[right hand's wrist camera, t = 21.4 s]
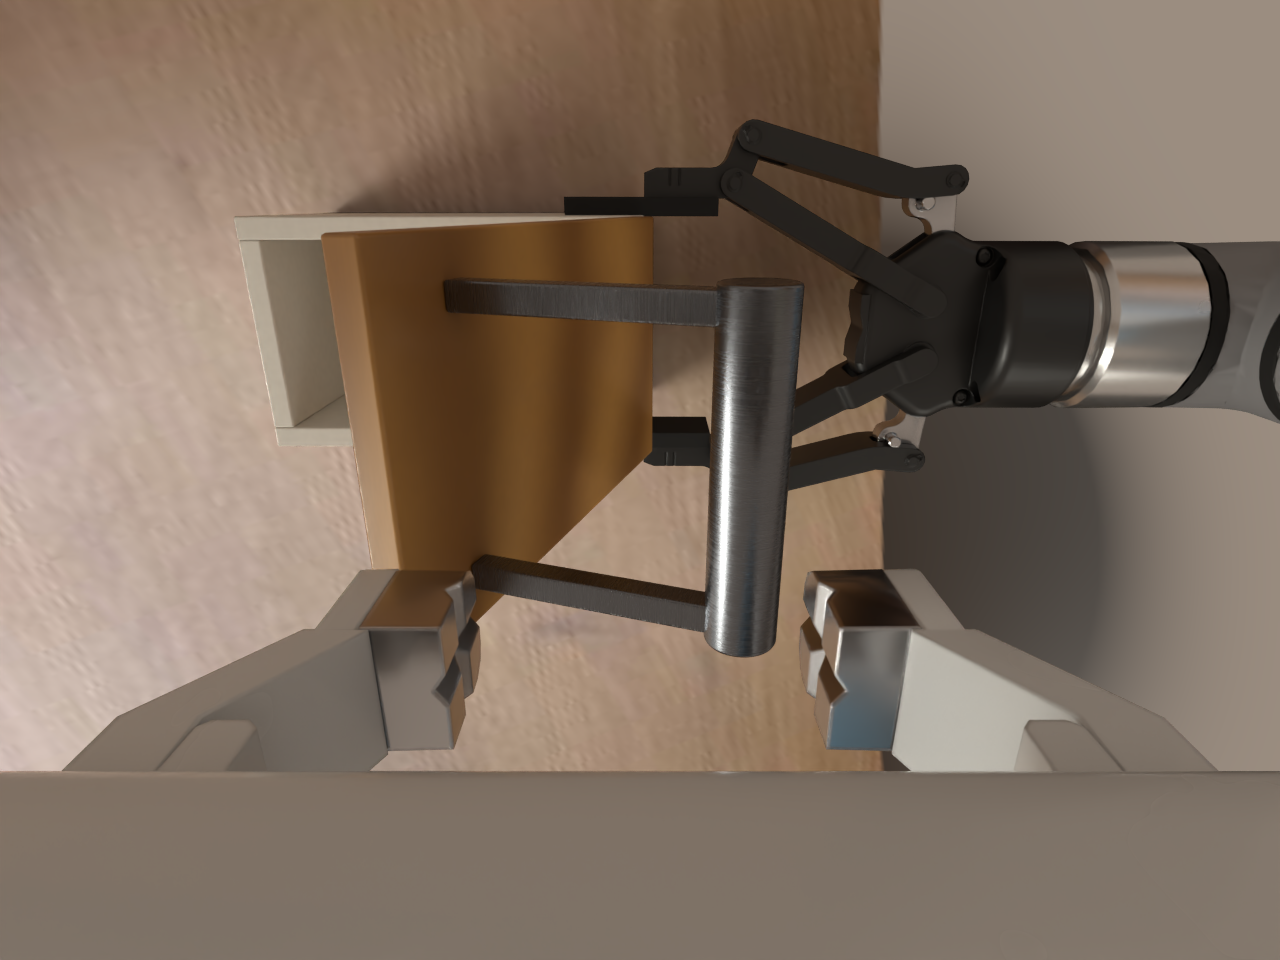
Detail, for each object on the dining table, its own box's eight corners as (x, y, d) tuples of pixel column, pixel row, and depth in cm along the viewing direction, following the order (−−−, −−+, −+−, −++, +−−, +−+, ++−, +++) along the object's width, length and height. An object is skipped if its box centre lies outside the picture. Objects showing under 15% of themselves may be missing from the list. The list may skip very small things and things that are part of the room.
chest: (359, 392, 41) (277, 447, 32) (332, 212, 38) (232, 216, 28) (643, 392, 41) (643, 447, 32) (643, 212, 37) (644, 215, 28)
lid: (386, 673, 17) (748, 761, 14) (317, 232, 13) (784, 239, 10) (634, 449, 32) (831, 471, 29) (633, 216, 28) (857, 217, 25)
